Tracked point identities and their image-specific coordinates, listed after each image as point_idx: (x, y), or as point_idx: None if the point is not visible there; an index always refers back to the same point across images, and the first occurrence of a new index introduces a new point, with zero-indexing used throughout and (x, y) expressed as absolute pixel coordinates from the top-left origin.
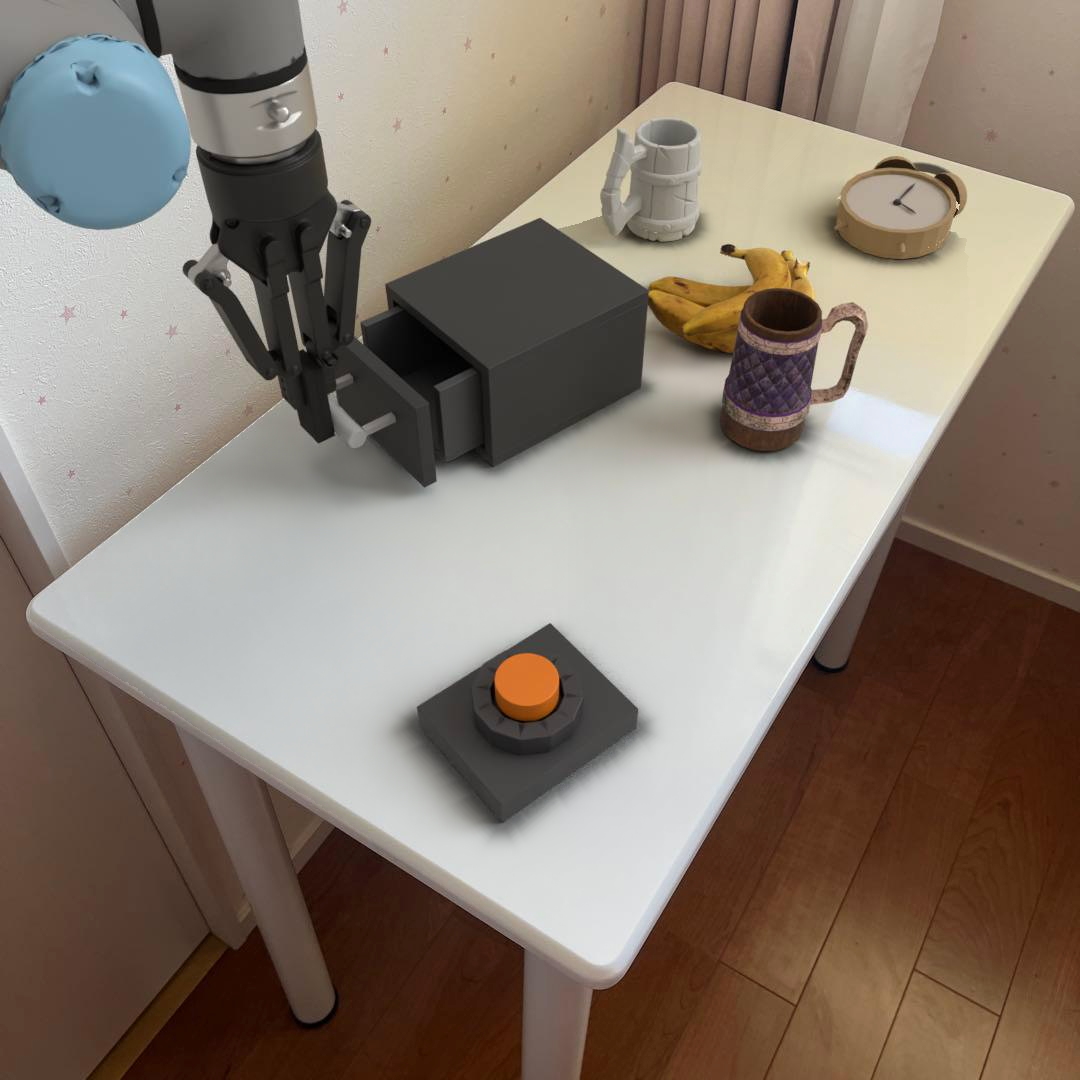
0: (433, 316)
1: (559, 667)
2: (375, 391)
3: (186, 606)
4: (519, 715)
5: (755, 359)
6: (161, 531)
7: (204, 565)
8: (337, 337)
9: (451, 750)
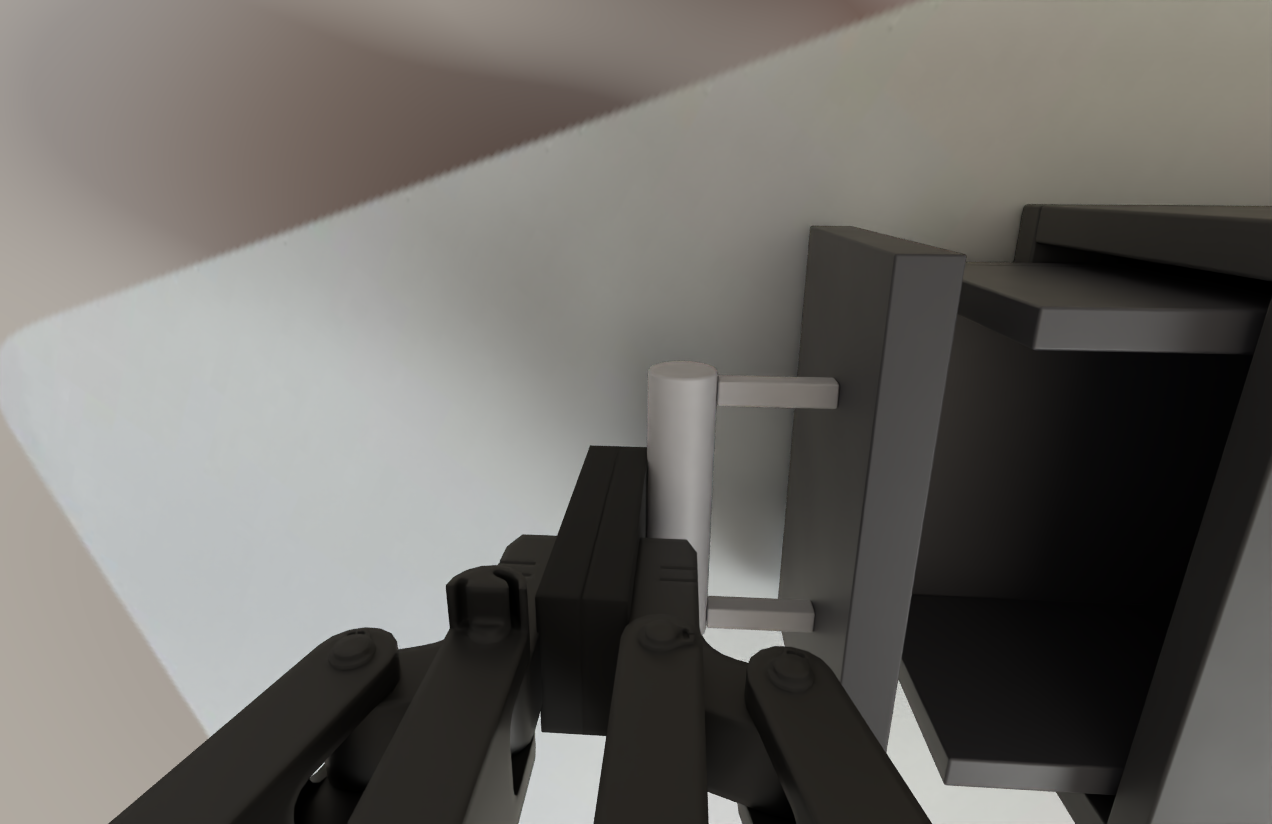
0: (1262, 585)
1: None
2: (828, 555)
3: (239, 533)
4: None
5: None
6: (247, 320)
7: (301, 466)
8: (740, 804)
9: None
